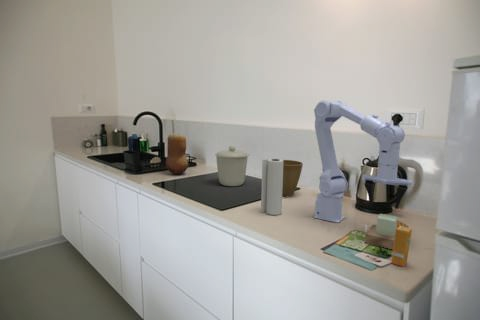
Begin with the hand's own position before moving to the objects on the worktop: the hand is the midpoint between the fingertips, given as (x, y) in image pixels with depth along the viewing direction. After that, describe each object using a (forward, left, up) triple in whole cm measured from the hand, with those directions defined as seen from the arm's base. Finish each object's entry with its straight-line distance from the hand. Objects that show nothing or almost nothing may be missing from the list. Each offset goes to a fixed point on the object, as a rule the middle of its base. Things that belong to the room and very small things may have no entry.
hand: (383, 205), depth 102 cm
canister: (-81, +27, -11) cm, 86 cm away
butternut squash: (-123, +27, -11) cm, 126 cm away
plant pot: (-48, +26, -11) cm, 55 cm away
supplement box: (+8, -17, -11) cm, 22 cm away
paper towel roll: (-40, -1, -11) cm, 41 cm away
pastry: (+1, +9, -11) cm, 14 cm away
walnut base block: (+2, -4, -10) cm, 11 cm away
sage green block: (+2, -4, -7) cm, 9 cm away
